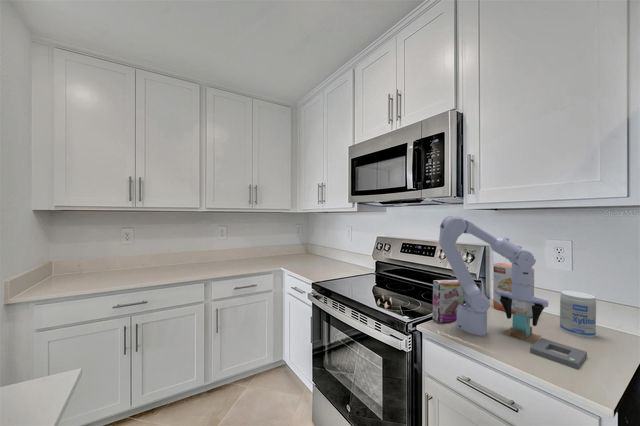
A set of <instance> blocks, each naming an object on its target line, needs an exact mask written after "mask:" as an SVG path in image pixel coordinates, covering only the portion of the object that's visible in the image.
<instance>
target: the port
mask: <svg viewBox="0 0 640 426" xmlns="http://www.w3.org/2000/svg"><path fill="white" fill-rule="evenodd" d="M550 349H551V350H550ZM552 350H553V351H552ZM529 353H530V354H533V355H536V356H539V357H541V358H545V359H547V360H551V361H552V362H555V363H559V364H562V365H565V366H567V367H570V368H573V369H576V370H579V369H580V368H581V366H582V365H583V364H584V362H585V361H586V359H587V357H588V351H587V350H583V349H579V348H575V347H573V346H569V345H566V344H563V343H560V342H557V341H553V340H551V339H547V338H543V337H540V338H538V339H537V340H536V341H535V342H534V343H533V344H532V345H531V346H530V347H529Z"/></svg>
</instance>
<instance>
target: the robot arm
mask: <svg viewBox="0 0 640 426" xmlns="http://www.w3.org/2000/svg"><path fill="white" fill-rule="evenodd" d="M462 234H467V235H469V234H470V235H472V236H474V237H475V238H476V239H477V238H478V239H479V240H481V241H483V242H484V243H486V244H488V245H489V247H490V248H491V250H492V251H493V252H495V253H497V254H498V255H500V256H502V257H503V258H505V259H506V260H508V261H509V262H510V263H511V265H512V292H506V291H498V297H501V299H500V302H501V303H502V305H503V307H504V309H505V311H504V312H505V314H506V319H509V320H510V319H511V318H512V317H513V314H512V313H511V306H512V299H514V300H518V301H523V302H527V303H531V304H534V305H533V306H532V313H533V317H532V321H531V322H532V327H537V326H538V321H539V318H540V316H541V314H542V312H543V310H544V309H546V308H548V307H549V300H547V299H543V298H539V297H536V296H534V297H533V296H532V268H533V266H534V265H535V264H536V261H537V259H536V258H535V256H534V255H533V253H531V251H528V250H525V249H522V248H523V247H522V246H521V245H517V244H515V243H513V242H511V241H510V238H508V237H505V236H504V237H503V236H499V237H498V236H497V237H496V236H494V235H492V234H491V233H489V232H488V231H486V230H484V229H483V228H481V227H480V226H478V225H477V224H475V223H473V222H471V221H469V220H467V219H464V218H462V217H460V216H451V215H450V216H446V217H445V218H444V219H443V220H442V221H441V223H440V225H439V239H438V243H439V246H440V249H441V251H442V252H443V254H444V256H445V258H446V260H447V262H448V265H449V266H450V267H451V269H452V272H453V274H454V275H455V277H456V280H458V281H459V283H460V285H461V289H462V292H463V299H464V306H460V307H459V308H458V310H457V320H456V329H458V330H461V331H465V332H466V333H469V334H470V335H473V336H479V337H480V336H481V337H483V336H486V335H488V310H489V309H490V307H491V303H490V300H489V298H488V297H487V296H485V294H483V293H482V290H481V289H480V288H479V287H478V285H477V284H476V282H475V280H474V278H473V277H472V274H471V273H470V271H469V269H468V267H467V265H466V263H465V261H464V259H463V258H462V255H461V253H460V251H459V249H458V247H457V246H456V243H457V242H458V239H459V237H460V236H461V235H462Z"/></svg>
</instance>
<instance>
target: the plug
mask: <svg viewBox="0 0 640 426" xmlns="http://www.w3.org/2000/svg"><path fill="white" fill-rule="evenodd" d="M530 326H531V317H530V316H529V315H526V314H522V313H518V312H516V313H515V314H512V327H513V328H515V329H518V330H522V331H525V332H526V337H525V338H527V337H529V336H530Z"/></svg>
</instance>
